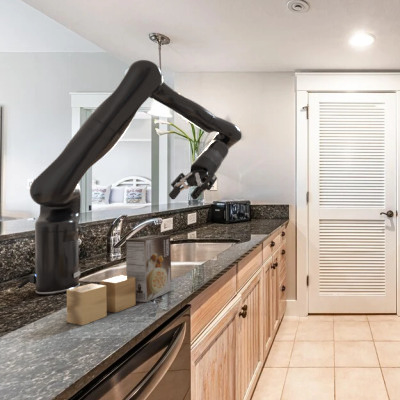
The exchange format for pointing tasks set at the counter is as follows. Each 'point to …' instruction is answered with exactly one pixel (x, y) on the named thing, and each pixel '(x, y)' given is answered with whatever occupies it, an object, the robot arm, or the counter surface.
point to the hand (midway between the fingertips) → (181, 197)
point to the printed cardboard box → (149, 265)
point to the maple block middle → (119, 293)
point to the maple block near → (86, 304)
